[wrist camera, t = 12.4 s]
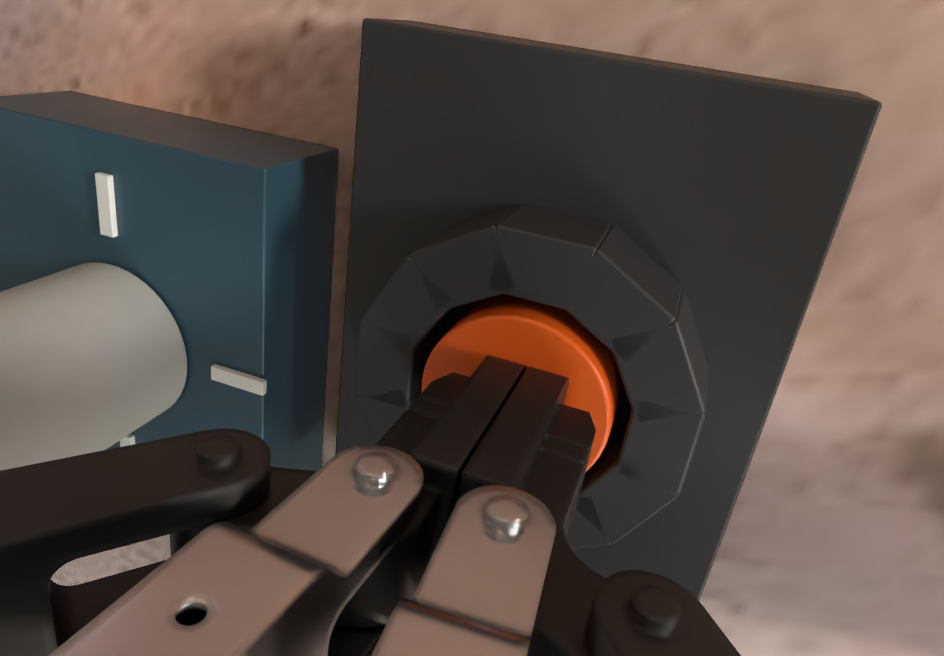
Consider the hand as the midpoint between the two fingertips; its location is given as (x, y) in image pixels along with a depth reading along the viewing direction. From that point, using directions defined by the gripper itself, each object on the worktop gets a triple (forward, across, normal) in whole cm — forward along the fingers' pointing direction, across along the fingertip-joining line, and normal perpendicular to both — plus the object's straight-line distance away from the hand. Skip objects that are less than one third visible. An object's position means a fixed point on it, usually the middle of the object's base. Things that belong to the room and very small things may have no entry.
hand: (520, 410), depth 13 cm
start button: (+2, 0, 0) cm, 2 cm away
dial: (+1, +10, +2) cm, 10 cm away
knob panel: (+4, +10, +2) cm, 11 cm away
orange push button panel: (+4, 0, 0) cm, 4 cm away
